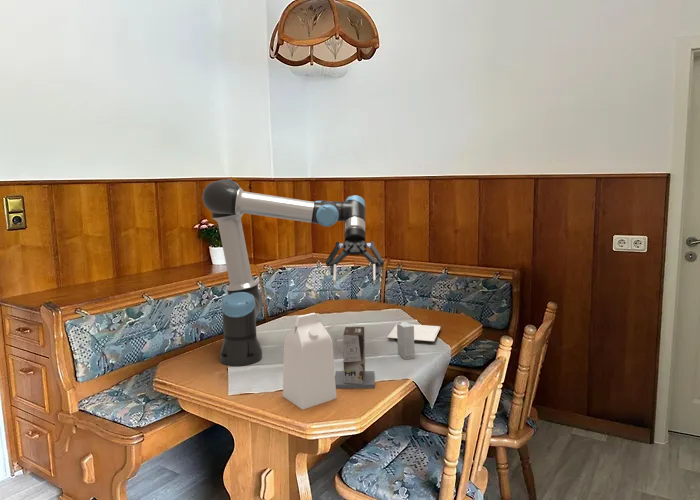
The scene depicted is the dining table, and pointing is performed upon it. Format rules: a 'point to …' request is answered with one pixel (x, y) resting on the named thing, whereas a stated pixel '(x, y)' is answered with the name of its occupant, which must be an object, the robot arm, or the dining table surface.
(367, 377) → the mat
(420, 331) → the plate
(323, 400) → the milk
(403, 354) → the skincare box
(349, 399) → the dining table surface
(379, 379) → the dining table surface
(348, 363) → the coffee box
